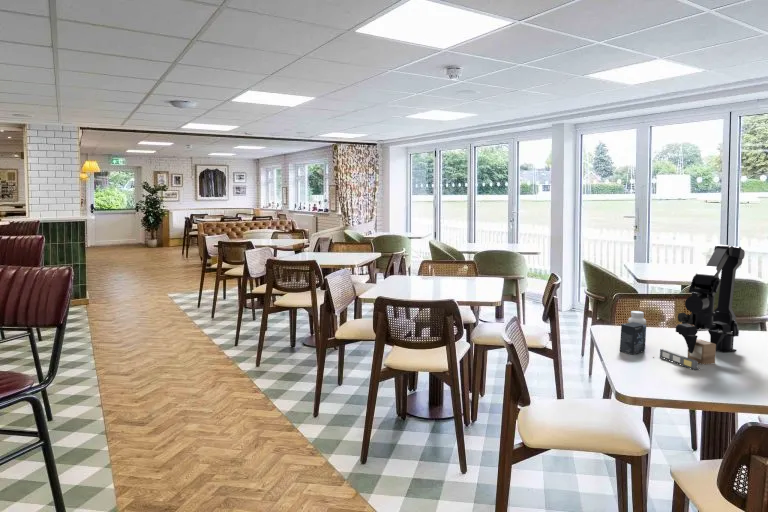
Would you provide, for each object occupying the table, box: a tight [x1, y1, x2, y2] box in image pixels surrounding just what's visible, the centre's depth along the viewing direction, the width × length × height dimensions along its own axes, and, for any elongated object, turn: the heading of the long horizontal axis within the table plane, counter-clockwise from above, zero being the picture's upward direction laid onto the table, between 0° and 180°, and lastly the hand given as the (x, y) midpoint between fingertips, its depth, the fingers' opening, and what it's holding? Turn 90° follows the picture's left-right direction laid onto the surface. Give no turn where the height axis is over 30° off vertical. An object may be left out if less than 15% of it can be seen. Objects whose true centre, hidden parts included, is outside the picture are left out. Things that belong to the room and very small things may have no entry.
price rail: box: [659, 348, 701, 371], centre depth 199 cm, size 16×3×3 cm, turn 15°
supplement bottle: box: [627, 310, 647, 342], centre depth 224 cm, size 7×7×13 cm
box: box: [619, 322, 647, 355], centre depth 213 cm, size 8×6×11 cm
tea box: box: [687, 338, 717, 365], centre depth 201 cm, size 7×5×7 cm
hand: (701, 352), depth 201 cm, fingers open, 9 cm apart
